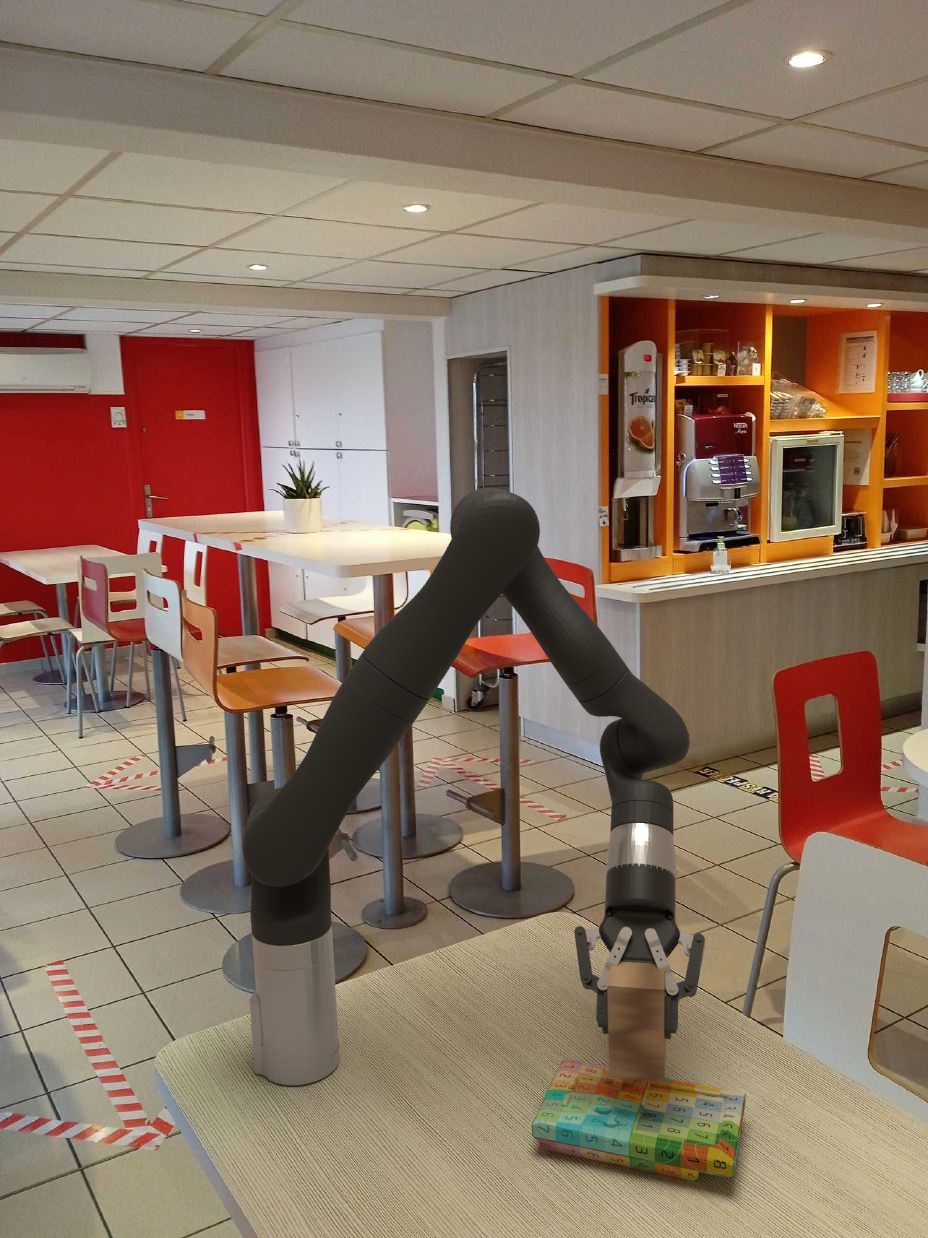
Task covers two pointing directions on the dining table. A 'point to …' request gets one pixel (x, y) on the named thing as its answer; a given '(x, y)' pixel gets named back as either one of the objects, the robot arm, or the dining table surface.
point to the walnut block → (636, 1021)
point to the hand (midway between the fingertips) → (636, 1034)
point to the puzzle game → (641, 1122)
